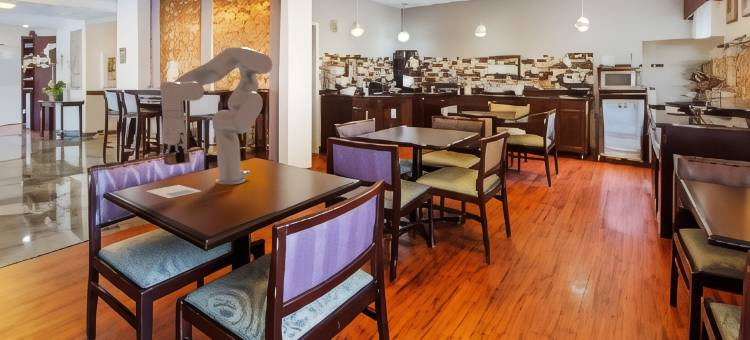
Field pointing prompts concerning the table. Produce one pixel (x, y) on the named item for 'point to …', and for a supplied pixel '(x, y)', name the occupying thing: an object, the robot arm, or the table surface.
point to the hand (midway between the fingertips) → (177, 161)
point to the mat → (173, 191)
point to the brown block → (171, 158)
